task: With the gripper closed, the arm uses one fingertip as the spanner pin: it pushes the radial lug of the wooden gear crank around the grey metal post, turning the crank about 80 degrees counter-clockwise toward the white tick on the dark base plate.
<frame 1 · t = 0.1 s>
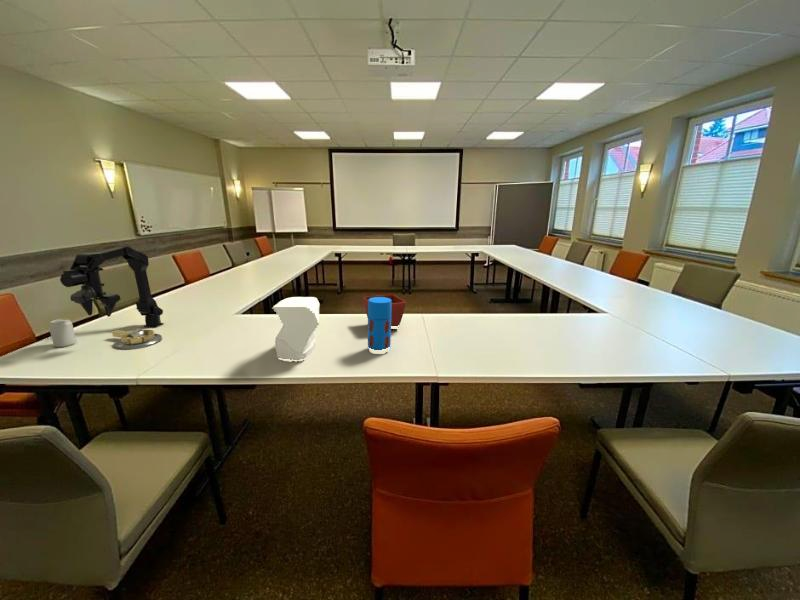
hand: (99, 315, 150), 15 cm above the table, fingers open, 9 cm apart
wooden gear crank: (131, 334, 159), point 3 cm above the table, hinge at 0.0°
cap plate: (139, 342, 158), on the table
can: (65, 345, 153), on the table
white irregular block: (303, 353, 152), on the table
thermos: (379, 350, 158), on the table
plant pot: (383, 327, 189), on the table
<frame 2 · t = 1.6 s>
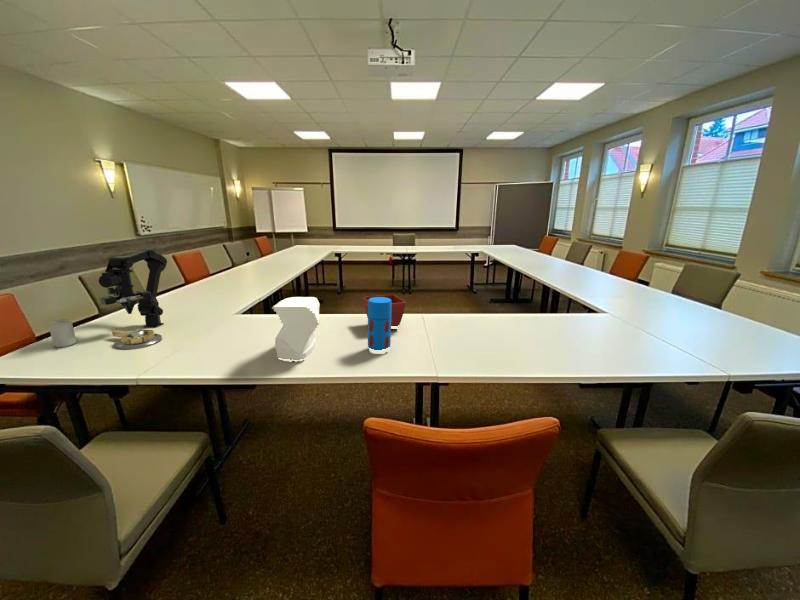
hand: (129, 313, 163), 11 cm above the table, fingers closed
nothing on the table moved.
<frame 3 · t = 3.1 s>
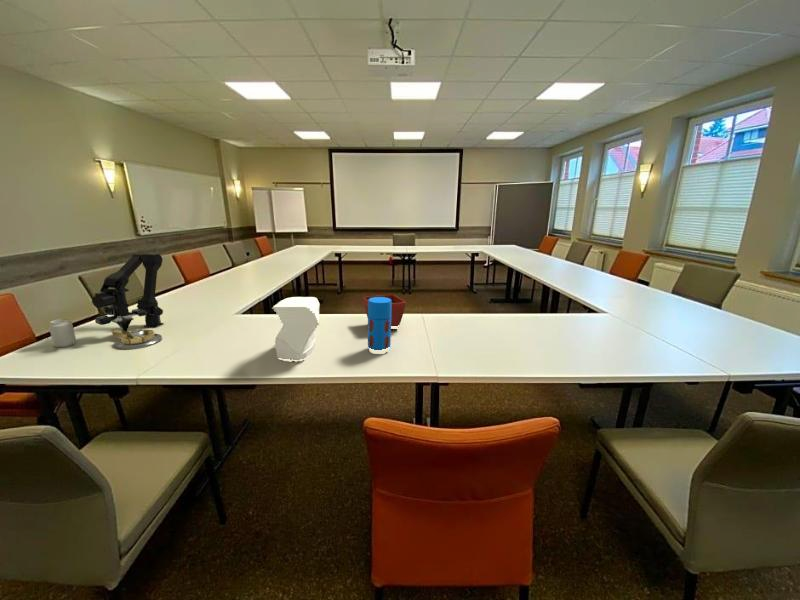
hand: (125, 332, 163), 2 cm above the table, fingers closed
wooden gear crank: (131, 334, 159), point 3 cm above the table, hinge at 0.0°, touching gripper
everything else where it was.
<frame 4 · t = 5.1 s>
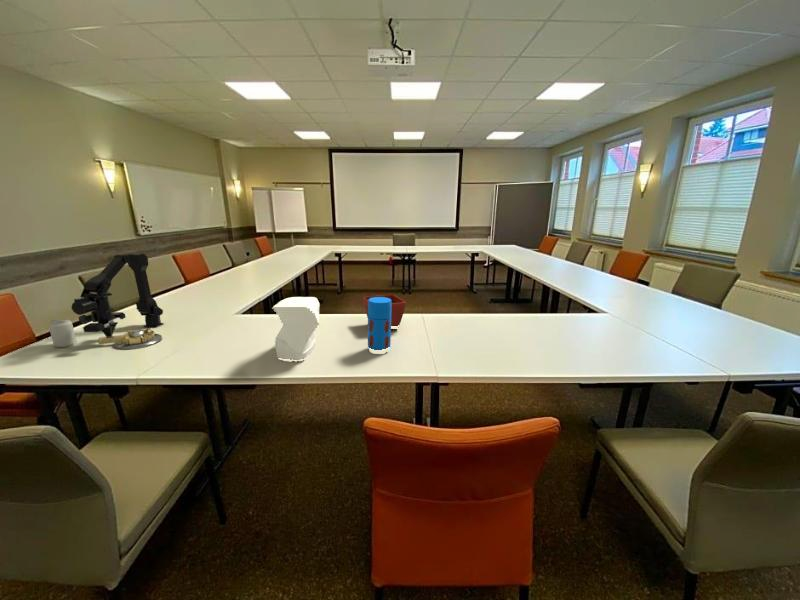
hand: (109, 338, 155), 2 cm above the table, fingers closed
wooden gear crank: (126, 336, 156), point 3 cm above the table, hinge at 40.3°, touching gripper
everything else where it was.
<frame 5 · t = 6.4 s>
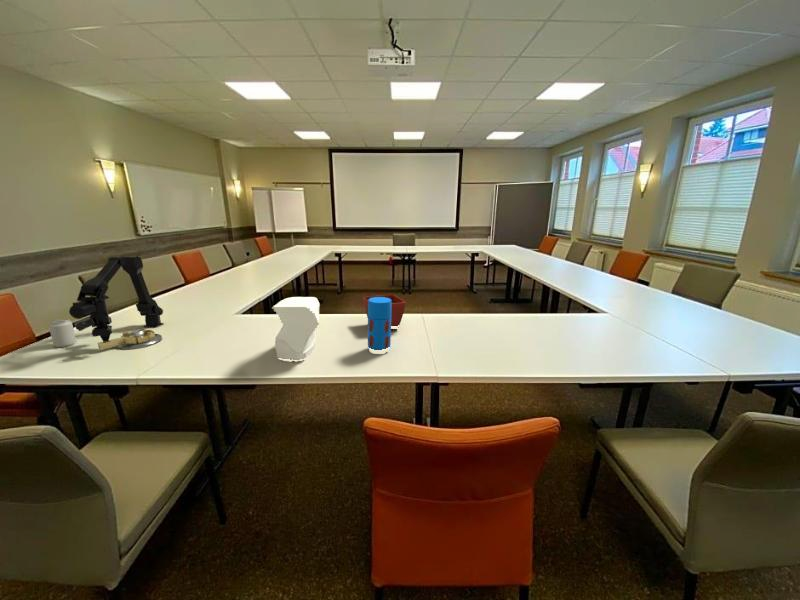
hand: (106, 343, 150), 2 cm above the table, fingers closed
wooden gear crank: (127, 338, 154), point 3 cm above the table, hinge at 70.6°, touching gripper
everything else where it was.
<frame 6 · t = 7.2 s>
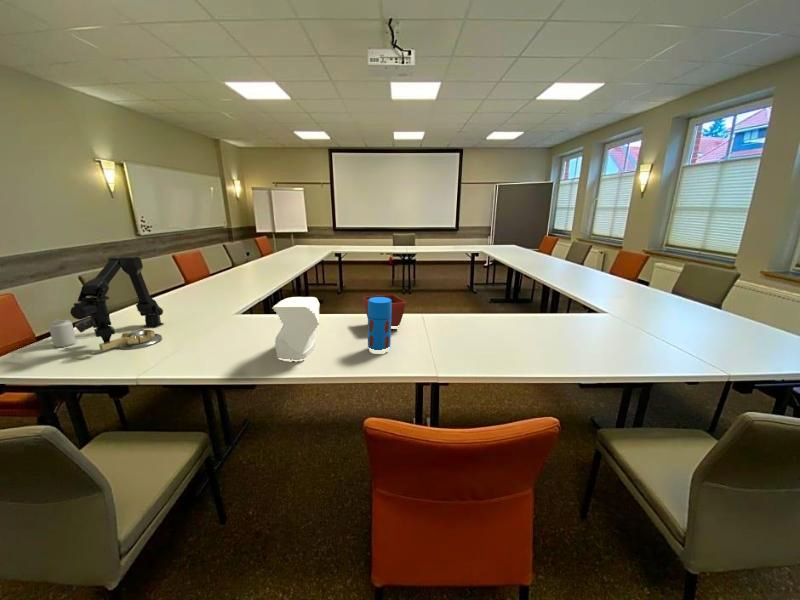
hand: (106, 344, 149), 2 cm above the table, fingers closed
wooden gear crank: (127, 338, 154), point 3 cm above the table, hinge at 78.1°, touching gripper
everything else where it was.
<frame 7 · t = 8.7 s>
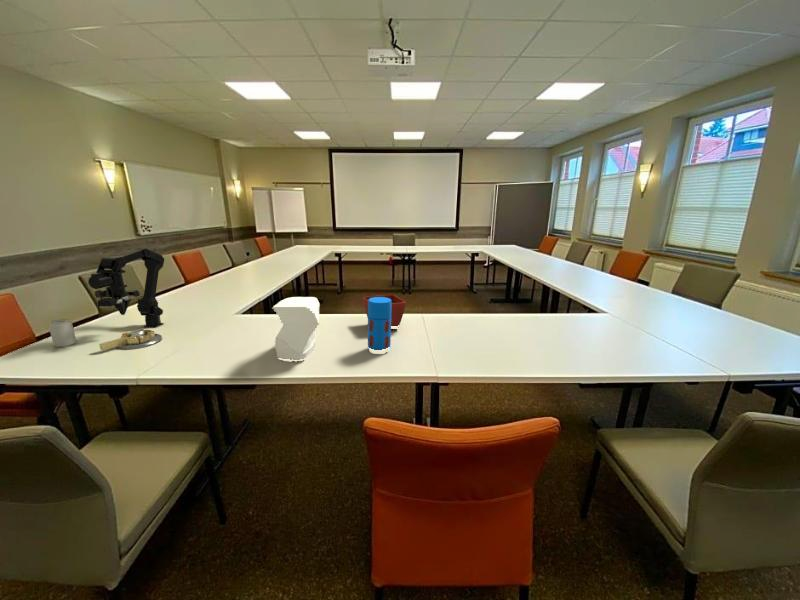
hand: (123, 314, 161), 12 cm above the table, fingers closed
wooden gear crank: (127, 338, 154), point 3 cm above the table, hinge at 78.4°
everything else where it was.
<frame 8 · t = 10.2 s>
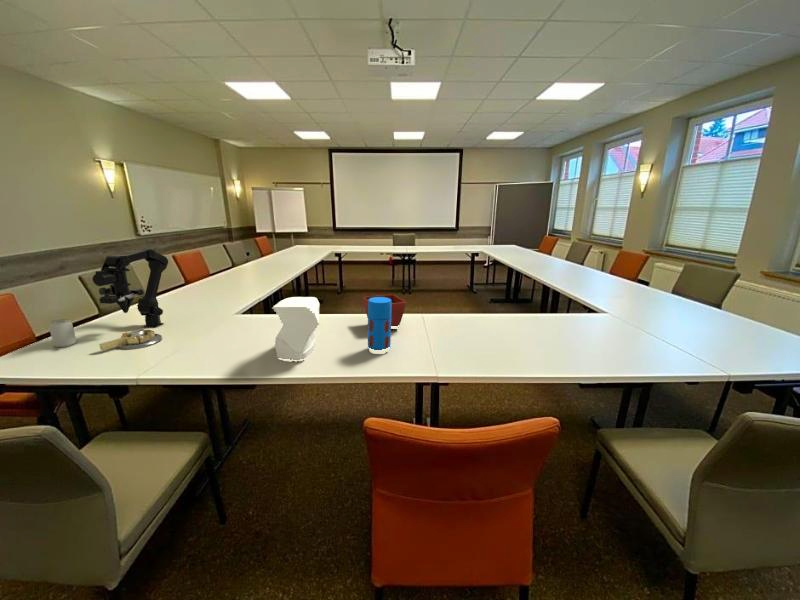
hand: (125, 312, 163), 12 cm above the table, fingers closed
nothing on the table moved.
at the end: wooden gear crank at +78° (first picture: +0°) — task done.
